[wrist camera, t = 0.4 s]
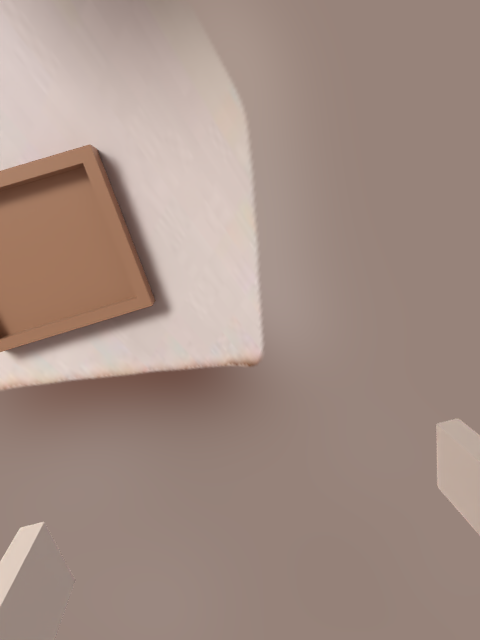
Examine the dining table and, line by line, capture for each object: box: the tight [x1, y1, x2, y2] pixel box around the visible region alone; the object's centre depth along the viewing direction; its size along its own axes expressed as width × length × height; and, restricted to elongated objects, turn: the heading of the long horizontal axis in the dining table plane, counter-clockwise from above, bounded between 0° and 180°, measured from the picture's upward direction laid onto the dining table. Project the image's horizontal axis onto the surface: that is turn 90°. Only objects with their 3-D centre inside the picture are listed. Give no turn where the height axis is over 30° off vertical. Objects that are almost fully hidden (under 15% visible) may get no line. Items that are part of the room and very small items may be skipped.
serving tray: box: [0, 145, 155, 352], centre depth 32 cm, size 15×17×2 cm
